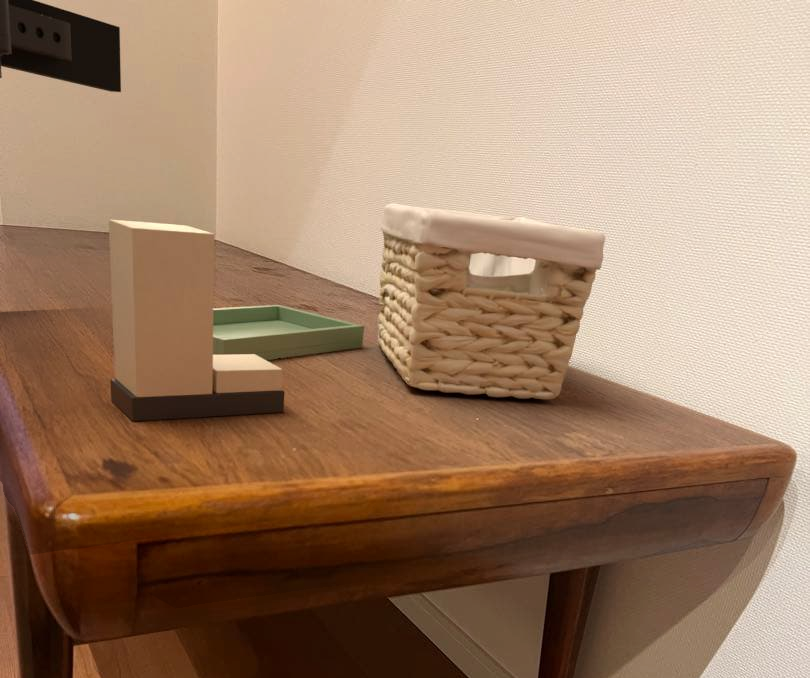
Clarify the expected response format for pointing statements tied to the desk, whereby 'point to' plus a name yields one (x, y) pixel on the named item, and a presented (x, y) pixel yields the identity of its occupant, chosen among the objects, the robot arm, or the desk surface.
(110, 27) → the robot arm
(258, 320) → the tray
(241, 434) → the desk surface
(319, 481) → the desk surface
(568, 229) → the basket
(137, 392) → the boot
